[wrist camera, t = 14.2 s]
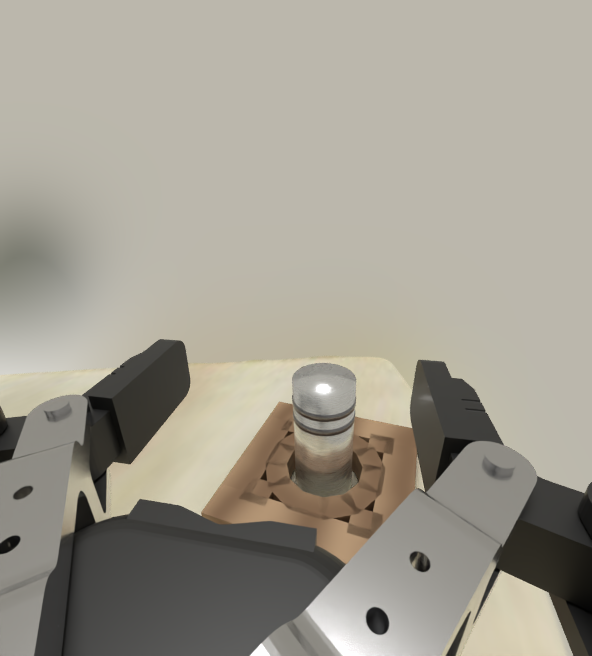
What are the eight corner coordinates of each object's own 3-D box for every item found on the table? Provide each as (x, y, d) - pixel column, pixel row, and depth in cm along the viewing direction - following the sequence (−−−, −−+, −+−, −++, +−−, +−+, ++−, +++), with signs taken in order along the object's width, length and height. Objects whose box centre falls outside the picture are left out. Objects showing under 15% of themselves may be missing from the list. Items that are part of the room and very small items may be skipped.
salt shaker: (287, 501, 31) (281, 389, 26) (305, 460, 35) (304, 359, 31) (344, 518, 29) (349, 402, 24) (356, 473, 33) (362, 368, 29)
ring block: (205, 533, 28) (201, 512, 27) (280, 418, 42) (279, 401, 41) (405, 608, 23) (409, 585, 22) (415, 448, 36) (418, 429, 35)
